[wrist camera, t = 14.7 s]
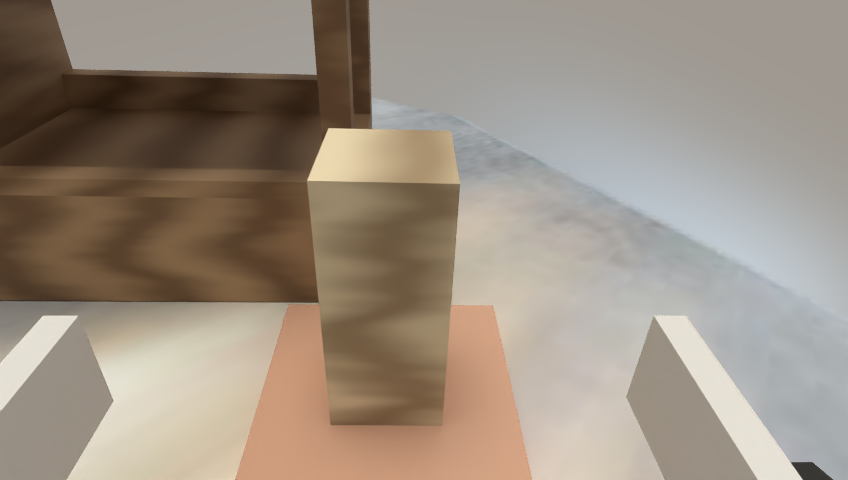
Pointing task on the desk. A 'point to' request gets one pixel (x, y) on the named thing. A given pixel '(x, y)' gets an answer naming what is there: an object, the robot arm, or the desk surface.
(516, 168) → the desk surface
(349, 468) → the terracotta tile
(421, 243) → the beech block
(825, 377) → the desk surface
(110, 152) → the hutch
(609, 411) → the desk surface
